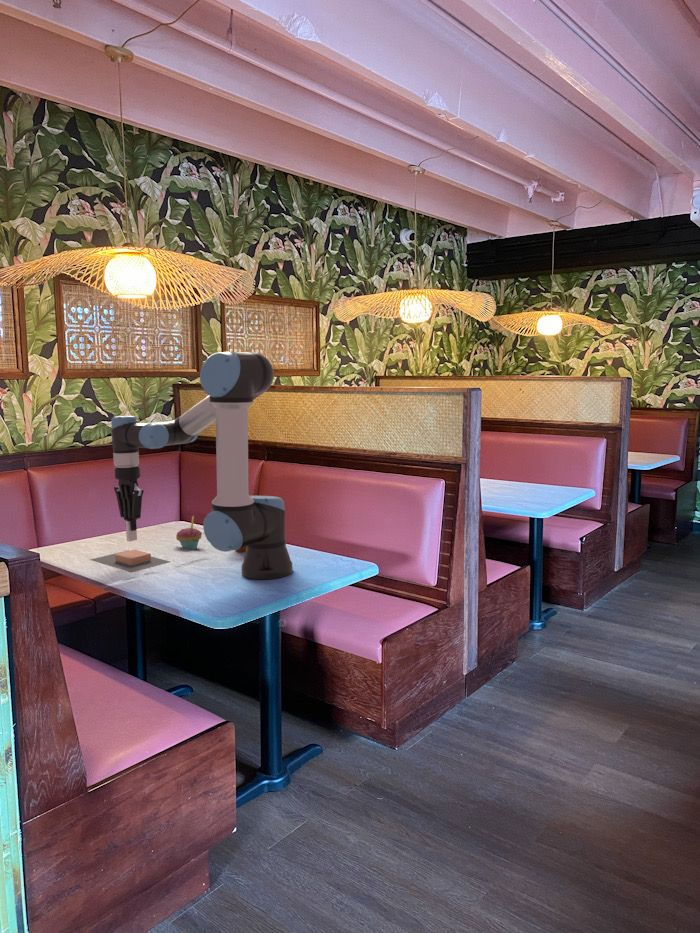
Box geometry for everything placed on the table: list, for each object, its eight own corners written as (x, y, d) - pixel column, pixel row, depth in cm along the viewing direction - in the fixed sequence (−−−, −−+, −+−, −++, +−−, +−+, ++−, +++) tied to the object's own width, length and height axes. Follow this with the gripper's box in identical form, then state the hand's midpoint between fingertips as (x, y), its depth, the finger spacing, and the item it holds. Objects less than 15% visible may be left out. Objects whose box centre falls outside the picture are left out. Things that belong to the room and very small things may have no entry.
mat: (171, 564, 216) (171, 561, 216) (131, 575, 205) (131, 572, 205) (128, 553, 231) (128, 550, 231) (89, 562, 220) (89, 559, 220)
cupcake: (204, 545, 240) (203, 511, 238) (199, 551, 231) (197, 516, 230) (180, 545, 240) (178, 512, 238) (173, 552, 231) (171, 517, 230)
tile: (135, 556, 222) (151, 561, 216) (115, 561, 217) (131, 566, 211) (134, 549, 222) (150, 553, 216) (114, 554, 217) (130, 558, 211)
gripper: (149, 465, 211) (154, 540, 214) (126, 463, 219) (130, 535, 223) (127, 468, 205) (133, 545, 209) (104, 465, 214) (109, 539, 217)
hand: (132, 540), depth 216 cm, fingers closed
